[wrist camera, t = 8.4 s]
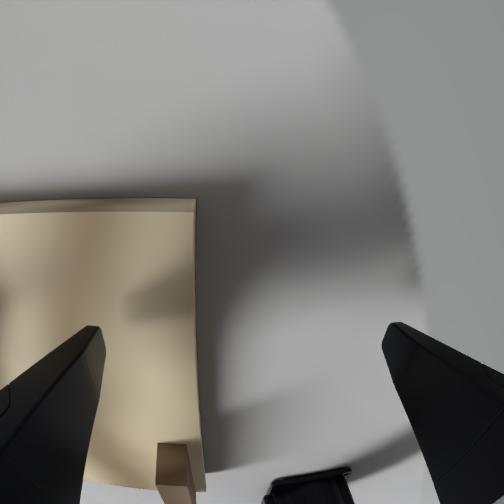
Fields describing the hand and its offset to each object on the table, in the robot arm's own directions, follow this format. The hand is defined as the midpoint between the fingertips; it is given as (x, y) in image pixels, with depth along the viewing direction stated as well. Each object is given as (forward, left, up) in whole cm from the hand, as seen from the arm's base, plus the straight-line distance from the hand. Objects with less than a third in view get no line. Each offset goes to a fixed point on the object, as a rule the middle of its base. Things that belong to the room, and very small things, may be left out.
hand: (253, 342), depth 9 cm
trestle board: (+13, +6, -2) cm, 14 cm away
